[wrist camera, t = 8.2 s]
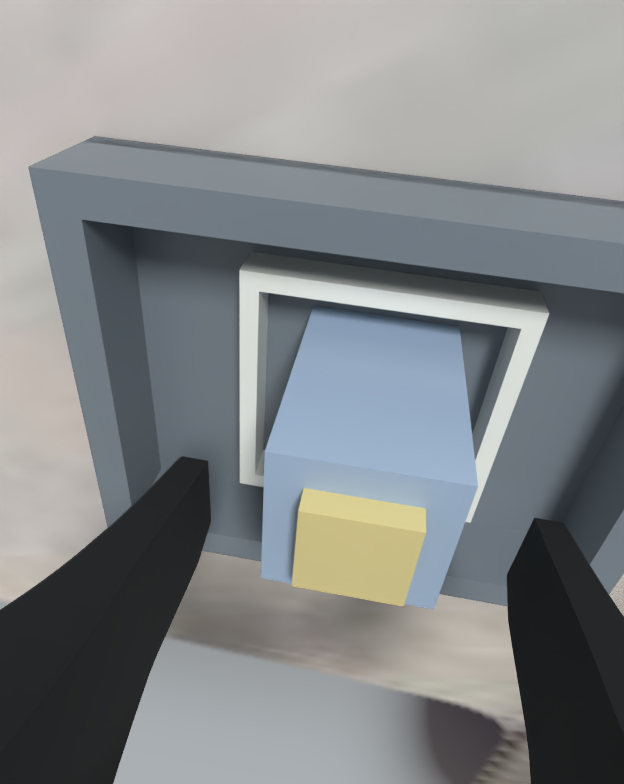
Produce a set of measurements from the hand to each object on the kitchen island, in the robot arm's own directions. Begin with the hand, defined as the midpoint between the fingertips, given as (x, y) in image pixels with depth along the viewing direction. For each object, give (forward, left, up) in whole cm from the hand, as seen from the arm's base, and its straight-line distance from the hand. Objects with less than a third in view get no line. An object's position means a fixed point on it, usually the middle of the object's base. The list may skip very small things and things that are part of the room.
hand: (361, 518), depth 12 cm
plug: (0, 0, -5) cm, 5 cm away
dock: (0, 0, -6) cm, 6 cm away
